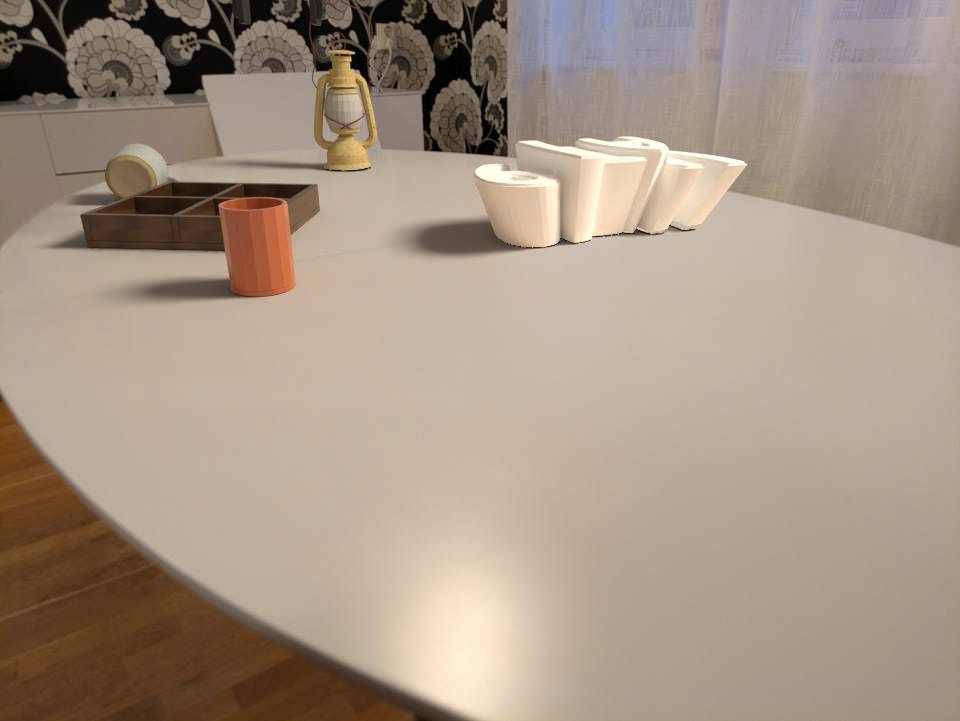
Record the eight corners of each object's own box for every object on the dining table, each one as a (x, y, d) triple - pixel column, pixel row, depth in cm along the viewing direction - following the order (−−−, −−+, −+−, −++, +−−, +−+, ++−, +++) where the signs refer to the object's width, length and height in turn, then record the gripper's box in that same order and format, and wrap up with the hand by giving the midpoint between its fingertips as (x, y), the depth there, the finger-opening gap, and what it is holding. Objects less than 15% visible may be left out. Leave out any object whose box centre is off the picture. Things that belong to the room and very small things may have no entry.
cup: (221, 295, 62) (207, 209, 59) (244, 276, 68) (233, 196, 65) (284, 297, 62) (274, 211, 59) (303, 277, 68) (294, 197, 64)
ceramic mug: (107, 205, 97) (96, 150, 94) (119, 194, 105) (109, 143, 101) (185, 203, 100) (177, 150, 97) (192, 193, 107) (185, 143, 104)
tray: (87, 247, 77) (79, 214, 76) (172, 208, 97) (168, 181, 95) (271, 251, 76) (267, 218, 75) (320, 211, 96) (317, 184, 94)
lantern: (376, 163, 137) (368, -4, 125) (381, 170, 129) (372, -8, 116) (316, 164, 135) (301, -6, 122) (317, 172, 126) (301, -10, 114)
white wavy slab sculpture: (670, 207, 100) (679, 133, 96) (747, 233, 86) (762, 147, 82) (448, 225, 89) (447, 142, 84) (495, 258, 75) (497, 160, 70)
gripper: (341, -129, 76) (347, 29, 82) (219, -130, 77) (233, 27, 83) (323, -153, 69) (331, 21, 75) (188, -154, 70) (206, 19, 76)
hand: (280, 24), depth 79 cm, fingers open, 8 cm apart
